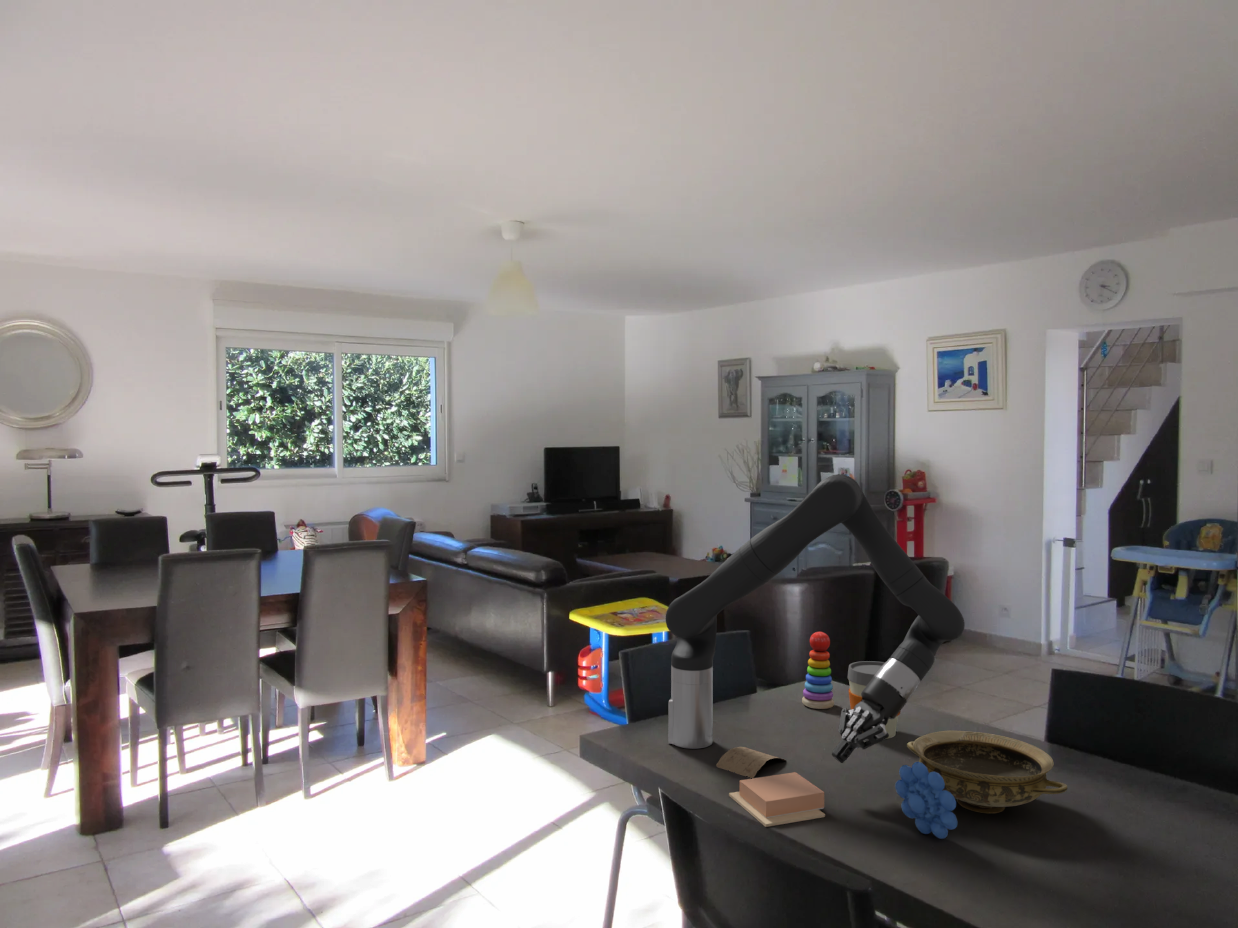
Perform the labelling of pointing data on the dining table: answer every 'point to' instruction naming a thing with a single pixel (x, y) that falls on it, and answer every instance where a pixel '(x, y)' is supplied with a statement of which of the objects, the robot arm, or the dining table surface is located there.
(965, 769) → the ceramic bowl
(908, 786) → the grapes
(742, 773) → the curved bark piece
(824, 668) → the stacking toy
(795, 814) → the mat
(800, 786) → the tile
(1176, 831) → the dining table surface
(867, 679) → the reusable coffee cup
